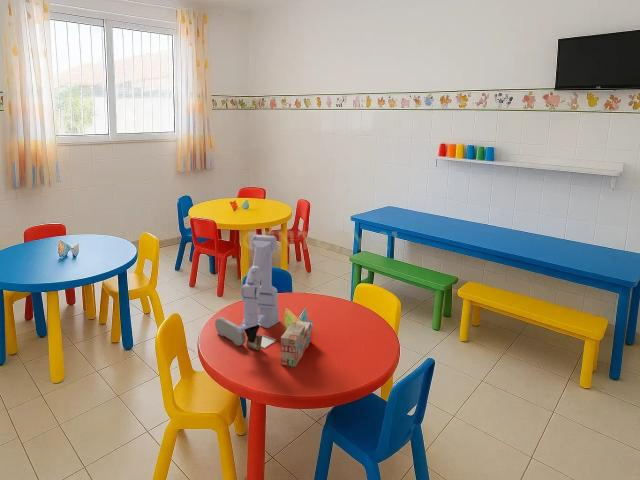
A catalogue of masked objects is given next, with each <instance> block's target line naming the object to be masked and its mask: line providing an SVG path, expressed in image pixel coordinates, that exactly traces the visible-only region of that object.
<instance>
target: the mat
mask: <svg viewBox="0 0 640 480" xmlns="http://www.w3.org/2000/svg"><path fill="white" fill-rule="evenodd" d="M261 335H262V342H261V348H262V349H266V348H268V347H269V346H271V345H272V344H274V343H275V342H277V339H276V338H273V337H270V336H268V335H264V334H261Z"/></svg>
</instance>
